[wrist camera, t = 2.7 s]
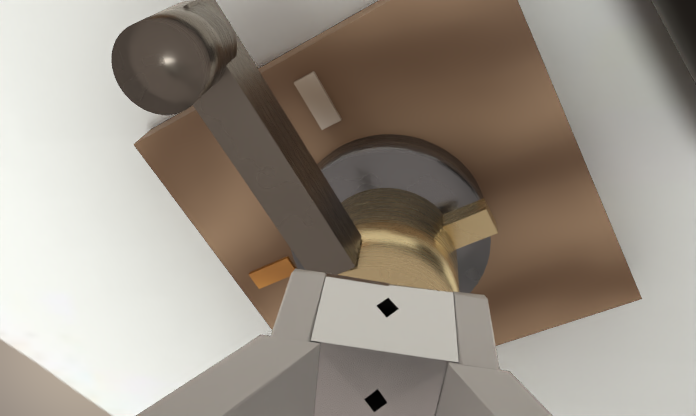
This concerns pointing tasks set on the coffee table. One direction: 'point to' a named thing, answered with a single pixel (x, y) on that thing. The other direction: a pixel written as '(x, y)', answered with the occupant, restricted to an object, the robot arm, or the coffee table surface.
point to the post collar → (409, 184)
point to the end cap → (681, 28)
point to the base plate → (435, 127)
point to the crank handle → (288, 156)
